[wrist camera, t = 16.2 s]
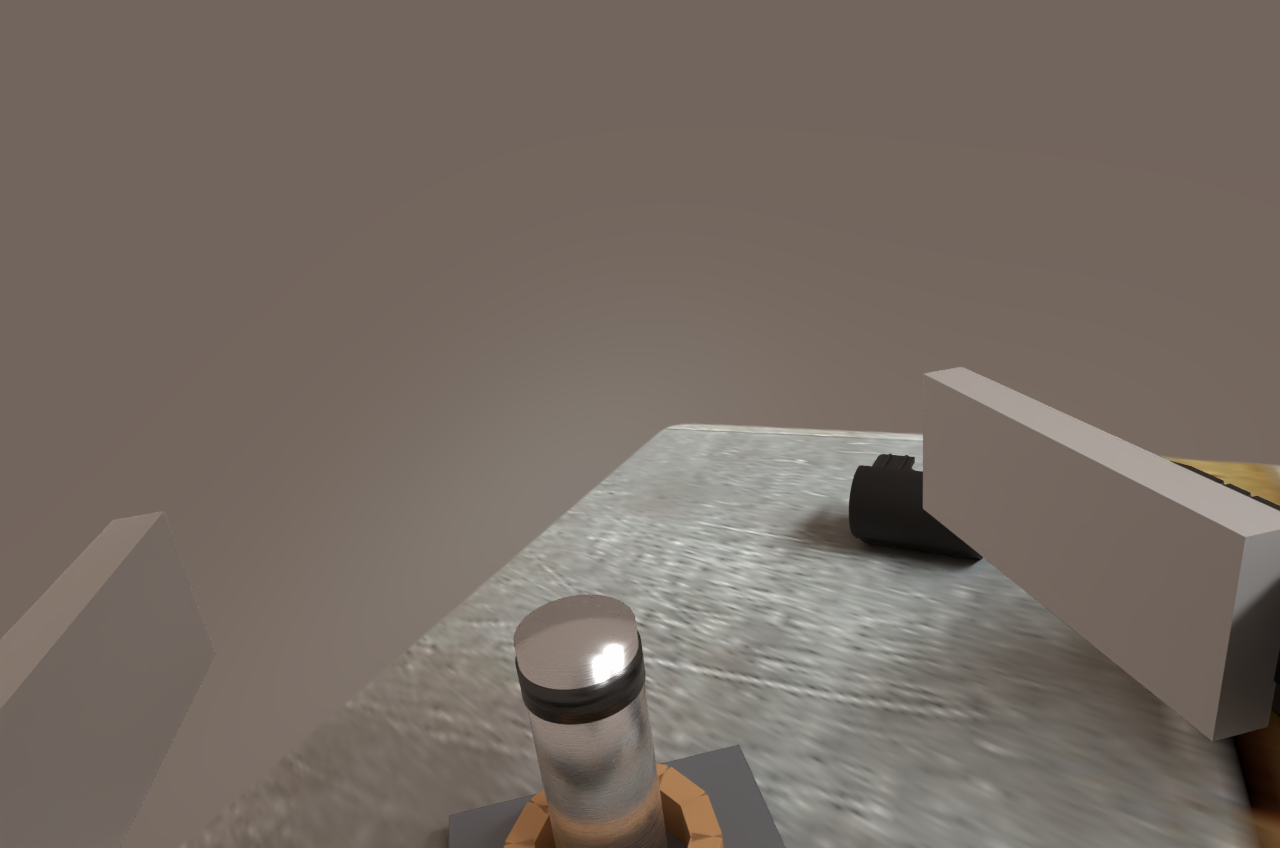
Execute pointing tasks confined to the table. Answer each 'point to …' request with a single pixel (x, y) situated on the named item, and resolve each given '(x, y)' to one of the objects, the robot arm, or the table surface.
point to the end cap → (898, 510)
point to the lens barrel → (591, 722)
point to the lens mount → (691, 801)
